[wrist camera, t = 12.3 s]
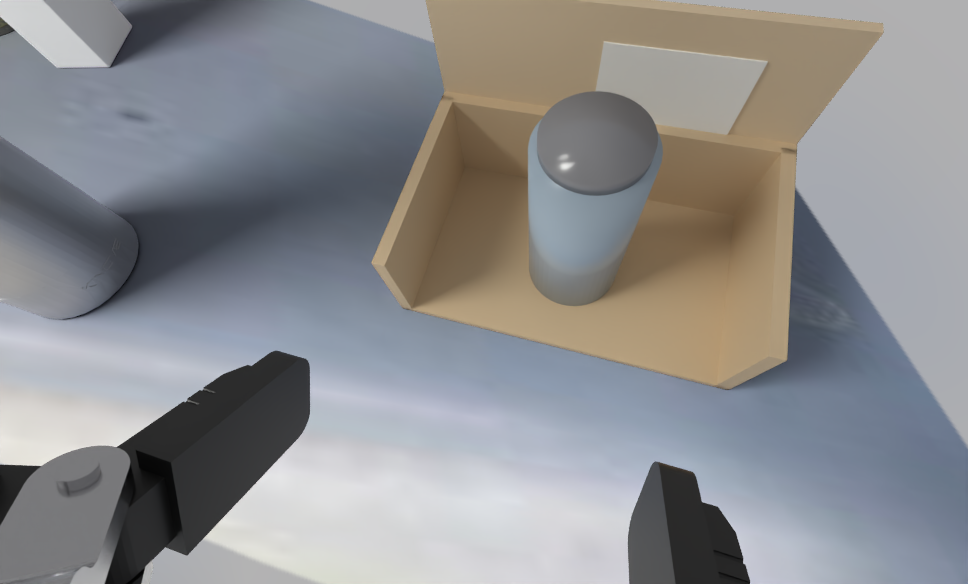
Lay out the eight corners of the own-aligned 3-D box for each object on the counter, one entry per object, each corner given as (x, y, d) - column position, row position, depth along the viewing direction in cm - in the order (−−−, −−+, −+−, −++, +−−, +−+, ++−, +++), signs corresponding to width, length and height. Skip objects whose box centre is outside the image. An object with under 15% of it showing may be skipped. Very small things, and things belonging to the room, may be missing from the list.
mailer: (402, 308, 32) (319, 187, 19) (461, 154, 37) (426, -23, 24) (727, 390, 28) (896, 306, 15) (745, 204, 33) (883, 23, 20)
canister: (519, 294, 31) (512, 177, 20) (540, 221, 33) (546, 76, 22) (607, 315, 30) (656, 205, 18) (623, 238, 32) (676, 95, 21)
